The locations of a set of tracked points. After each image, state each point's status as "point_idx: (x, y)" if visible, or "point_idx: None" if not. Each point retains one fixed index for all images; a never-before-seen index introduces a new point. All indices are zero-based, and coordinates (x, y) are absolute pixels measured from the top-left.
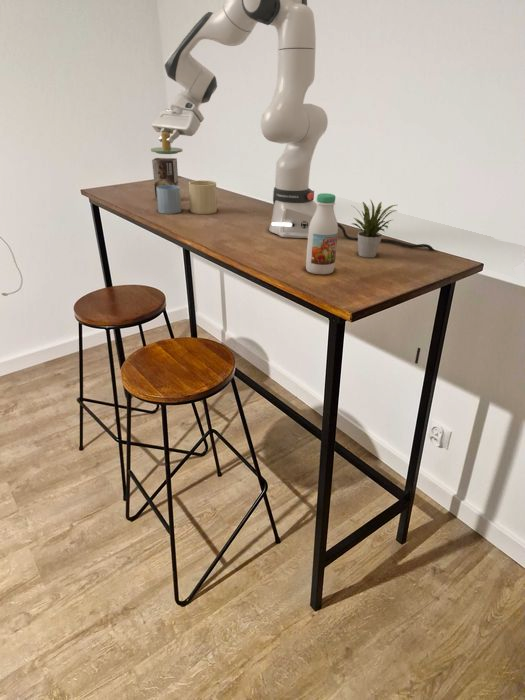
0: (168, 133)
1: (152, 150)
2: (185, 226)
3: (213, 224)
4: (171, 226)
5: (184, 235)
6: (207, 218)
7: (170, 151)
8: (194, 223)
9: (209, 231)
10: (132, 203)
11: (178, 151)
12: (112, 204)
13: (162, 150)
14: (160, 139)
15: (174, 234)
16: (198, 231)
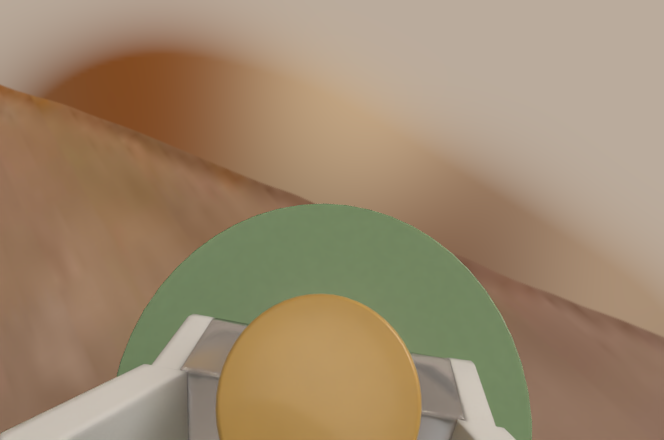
0: (219, 379)
1: (391, 217)
2: (127, 213)
3: (33, 295)
4: (175, 188)
5: (81, 131)
6: (96, 368)
7: (177, 270)
8: (114, 265)
9: (15, 207)
10: (587, 407)
11: (119, 375)
12: (629, 329)
13: (284, 257)
14: (416, 353)
15: (117, 125)
16: (54, 187)
